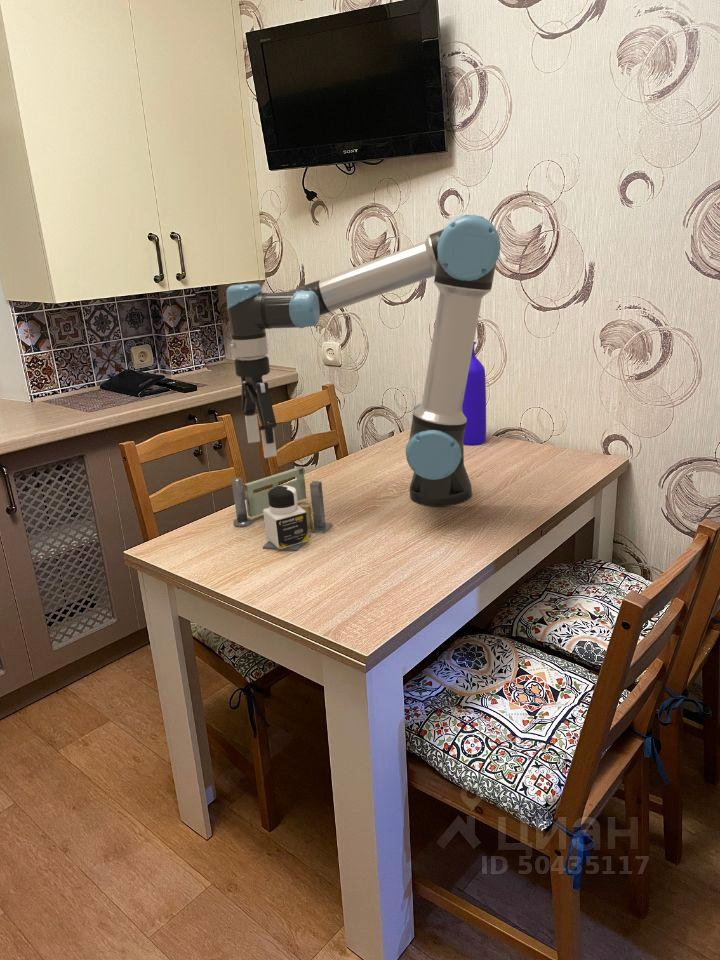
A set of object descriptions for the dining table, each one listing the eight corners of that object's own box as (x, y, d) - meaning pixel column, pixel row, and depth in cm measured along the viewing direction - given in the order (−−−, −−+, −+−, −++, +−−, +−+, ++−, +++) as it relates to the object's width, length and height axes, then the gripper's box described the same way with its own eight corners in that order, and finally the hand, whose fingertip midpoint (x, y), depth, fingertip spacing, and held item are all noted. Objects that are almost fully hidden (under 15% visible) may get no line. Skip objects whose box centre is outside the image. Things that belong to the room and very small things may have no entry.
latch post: (332, 525, 161) (328, 479, 157) (325, 533, 157) (321, 486, 153) (308, 523, 163) (304, 478, 159) (301, 531, 159) (296, 485, 155)
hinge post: (255, 520, 167) (249, 476, 163) (247, 527, 163) (240, 482, 159) (238, 518, 168) (232, 475, 165) (230, 526, 165) (223, 481, 161)
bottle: (458, 446, 210) (455, 345, 200) (459, 438, 218) (456, 340, 208) (486, 445, 209) (485, 343, 199) (486, 437, 217) (485, 339, 207)
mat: (311, 535, 156) (311, 534, 156) (297, 551, 149) (296, 549, 149) (278, 533, 159) (278, 531, 159) (262, 548, 152) (262, 546, 152)
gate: (251, 517, 166) (247, 485, 163) (248, 515, 167) (243, 484, 164) (306, 498, 175) (303, 467, 173) (303, 497, 176) (300, 466, 174)
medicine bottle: (279, 550, 149) (273, 497, 145) (266, 539, 155) (259, 488, 151) (309, 541, 152) (304, 489, 148) (295, 530, 158) (289, 480, 154)
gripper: (221, 351, 165) (232, 439, 172) (249, 367, 143) (261, 466, 151) (252, 347, 168) (262, 433, 175) (284, 362, 146) (294, 460, 153)
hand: (262, 449), depth 163 cm, fingers open, 13 cm apart
